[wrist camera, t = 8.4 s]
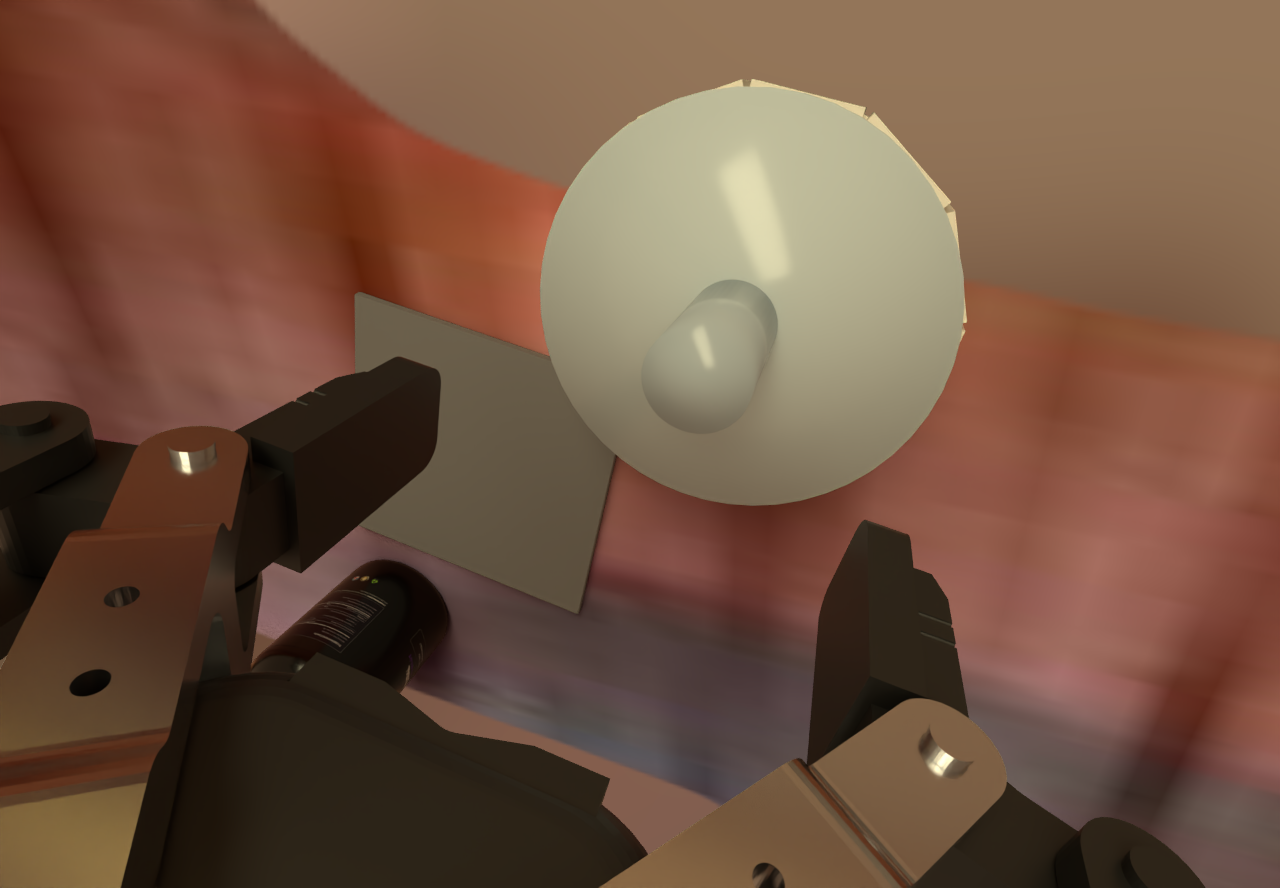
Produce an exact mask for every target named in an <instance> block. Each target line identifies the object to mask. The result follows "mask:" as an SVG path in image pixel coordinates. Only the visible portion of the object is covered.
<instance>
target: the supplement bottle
mask: <svg viewBox="0 0 1280 888" xmlns="http://www.w3.org/2000/svg"><path fill="white" fill-rule="evenodd" d="M447 624H448V617H447V611H446V607H445V604H444V602H443V600H442V598H441V596H440V594H439V593H438V591H437V590H436V588H435V587H434V586H433V585H432V584H431V582H430V581H429V580H428V579H426V578H425V577H424V576H423V575H422V574H420V573H419V572H418V571H416V570H414V569H413V568H411V567H409V566H407V565H405V564H402V563H399V562H396V561H391V560H375V561H370V562H368V563H365V564H363V565H361V566H360V567H359V568H357V569H356V570H355V571H354V572H352V573H351V574H350V575H349V576H348V577H346V578H345V579H344V580H343V581H342V582H341V583H340V584H338V585H337V586H336V587H335V588H334V589H333V590H332V591H331V592H329V593H328V594H327V595H326V596H325V597H324V598H323V599H321V600H320V601H319V602H318V603H317V604H316V605H315V606H314V607H312V608H311V609H310V610H309V611H308V612H307V613H306V614H305V615H303V616H302V617H301V618H300V619H299V620H298V621H297V622H295V623H294V624H293V625H292V626H291V627H290V628H289V629H288V630H286V631H285V632H284V633H283V634H282V635H281V636H280V637H279V638H277V639H276V640H275V641H274V642H273V643H272V644H271V645H270V646H268V647H267V648H266V649H265V650H264V651H263V652H262V653H261V654H260V655H259V656H258V657H257V658H256V659H255V660H254V661H253V663H252V664H251V671H250V673H254V672H286V673H297V672H298V671H299V670H300V669H301V668H302V667H303V666H304V665H305V664H306V663H307V662H308V661H309V660H310V659H311V658H312V657H313V656H314V655H315V654H316V653H317V652H318V653H320V654H322V655H325V656H327V657H329V658H331V659H334V660H336V661H338V662H341V663H343V664H345V665H348V666H350V667H352V668H355V669H357V670H359V671H362V672H364V673H366V674H369V675H371V676H373V677H375V678H378V679H380V680H382V681H385V682H386V683H387V684H389V685H390V686H391V687H392V688H394V689H395V690H396V691H397V692H399V693H400V692H401V691H402V690H403V689H404V688H405V686H406V685H407V684H408V683H409V681H410V680H411V679H412V678H413V676H414V675H415V674H416V673H417V671H418V670H419V669H420V668H421V666H422V665H423V664H424V663H425V662H426V660H427V659H428V658H429V657H430V655H431V654H432V653H433V651H434V650H435V649H436V648H437V646H438V645H439V644H440V642H441V641H442V639H443V638H444V636H445V633H446V630H447Z"/></svg>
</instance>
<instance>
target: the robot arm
mask: <svg viewBox="0 0 1280 888" xmlns="http://www.w3.org/2000/svg"><path fill="white" fill-rule="evenodd" d="M440 392H441V376H440V373H439V371H438V370H437V369H435V368H432V367H429V366H427V365H424V364H421V363H418V362H415V361H412V360H409V359H406V358H404V357H400V356H398V357H394V358H392V359H390V360H388V361H387V362H385V363H383V364H381V365H379V366H378V367H376V368H374V369H372V370H370V371H368V372H365V371H364V372H359V373H355V374H351V375H346V376H342V377H337V378H335V379H333V380H331V381H329V382H327V383H325V384H323V385H322V386H320V387H318V388H316V389H315V390H314V392H311V391H310V392H308V393H306V394H304V395H302V396H301V397H299V398H297V400H296V402H294V401H291V402H289V403H287V404H285V405H283V406H282V407H280V408H278V409H276V410H274V411H272V412H270V413H268V414H266V415H264V416H263V417H261V418H259V419H257V420H255V421H253V422H251V423H249V424H247V425H245V426H243V427H242V428H240V429H238V430H236V431H231V430H228V429H224V428H220V427H212V426H189V427H181V428H176V429H171V430H167V431H164V432H161V433H159V434H156V435H154V436H152V437H150V438H148V439H146V440H145V441H143V442H142V443H141V444H140V445H132V444H125V443H118V442H111V441H104V440H97V439H94V437H93V433H92V429H91V425H90V421H89V417H88V415H87V414H86V412H85V411H83V410H82V409H80V408H78V407H76V406H74V405H70V404H66V403H61V402H52V401H29V402H19V403H12V404H7V405H2V406H0V660H1V659H3V658H4V657H5V656H7V657H6V659H5V661H4V663H3V665H2V667H1V669H0V888H1205V886H1204V885H1203V884H1202V882H1201V881H1200V879H1199V878H1198V877H1197V876H1196V875H1195V873H1194V872H1193V871H1192V870H1191V869H1190V868H1189V866H1188V865H1187V864H1186V863H1185V862H1184V861H1183V860H1182V859H1181V858H1180V857H1179V856H1178V855H1176V854H1175V853H1174V852H1173V851H1172V850H1171V849H1169V848H1168V847H1167V846H1166V845H1165V844H1163V843H1162V842H1161V841H1159V840H1158V839H1157V838H1155V837H1154V836H1152V835H1151V834H1149V833H1147V832H1146V831H1144V830H1142V829H1140V828H1138V827H1136V826H1135V825H1133V824H1130V823H1128V822H1125V821H1122V820H1119V819H1114V818H1108V817H1100V818H1095V819H1093V820H1091V821H1089V822H1087V823H1086V824H1085V825H1084V826H1083V827H1082V828H1081V829H1080V830H1079V831H1076V830H1075V829H1073V828H1072V827H1070V826H1069V825H1067V824H1066V823H1064V822H1063V821H1061V820H1060V819H1058V818H1057V817H1055V816H1054V815H1052V814H1051V813H1049V812H1048V811H1046V810H1045V809H1043V808H1042V807H1040V806H1039V805H1038V804H1036V803H1035V802H1033V801H1032V800H1030V799H1029V798H1027V797H1026V796H1024V795H1023V794H1022V793H1020V792H1019V791H1017V790H1016V789H1015V788H1014V787H1013V786H1012V785H1010V784H1009V783H1008V782H1007V775H1006V769H1005V766H1004V763H1003V760H1002V758H1001V756H1000V754H999V752H998V750H997V749H996V747H995V746H994V744H993V743H992V741H991V740H990V739H989V738H988V736H987V735H986V734H985V733H984V732H983V731H982V730H981V729H980V728H979V727H978V726H977V725H976V724H975V723H974V722H972V721H971V720H970V719H969V716H968V711H967V705H966V699H965V694H964V688H963V682H962V676H961V671H960V665H959V659H958V654H957V648H954V647H955V644H956V642H955V636H954V631H953V628H951V625H952V619H951V614H950V608H949V602H948V599H947V597H946V596H945V594H944V592H943V591H942V589H941V588H940V586H939V585H938V583H937V582H936V580H935V579H934V577H933V576H932V574H929V573H927V572H924V571H921V570H918V569H915V568H913V559H912V550H911V541H910V537H909V535H908V534H905V533H902V532H899V531H896V530H893V529H890V528H888V527H885V526H882V525H879V524H876V523H873V522H870V521H867V520H864V521H862V522H861V524H860V525H859V527H858V528H857V530H856V532H855V534H854V536H853V538H852V540H851V542H850V544H849V546H848V548H847V550H846V552H845V554H844V556H843V558H842V560H841V562H840V564H839V566H838V568H837V570H836V573H835V575H834V577H833V579H832V581H831V583H830V585H829V587H828V589H827V592H826V594H825V597H824V600H823V603H822V607H821V611H820V615H819V622H818V634H817V646H816V659H815V671H814V683H813V696H812V708H811V720H810V732H809V745H808V757H807V765H806V763H805V762H804V761H803V760H802V759H800V758H798V759H794V760H791V761H789V762H787V763H785V764H784V765H782V766H781V767H779V768H778V769H776V770H775V771H773V772H772V773H770V774H769V775H767V776H766V777H764V778H763V779H761V780H760V781H758V782H757V783H755V784H754V785H752V786H751V787H749V788H748V789H746V790H745V791H743V792H742V793H740V794H739V795H737V796H736V797H734V798H733V799H731V800H730V801H728V802H727V803H725V804H724V805H722V806H721V807H719V808H718V809H716V810H715V811H713V812H712V813H710V814H709V815H707V816H706V817H704V818H703V819H701V820H700V821H698V822H697V823H695V824H694V825H692V826H691V827H689V828H688V829H686V830H685V831H683V832H682V833H680V834H679V835H677V836H676V837H674V838H673V839H671V840H670V841H668V842H667V843H665V844H664V845H662V846H661V847H659V848H658V849H656V850H655V851H653V852H652V853H650V854H649V855H648V854H647V852H646V850H645V849H644V847H643V846H642V845H641V844H640V842H639V841H638V840H637V839H636V837H635V836H634V835H633V833H632V832H631V831H630V830H629V829H628V828H627V827H626V826H625V825H624V824H623V823H622V822H621V821H620V820H619V819H618V818H617V817H616V816H615V815H614V814H613V813H611V812H610V811H609V810H608V809H606V808H605V807H604V806H603V805H602V802H603V799H604V796H605V792H606V790H607V787H608V784H609V780H610V779H609V778H607V777H605V776H603V775H600V774H598V773H595V772H593V771H590V770H588V769H586V768H584V767H582V766H579V765H577V764H575V763H572V762H570V761H568V760H565V759H563V758H561V757H558V756H556V755H554V754H551V753H549V752H547V751H545V750H542V749H540V748H538V747H535V746H531V745H525V744H519V743H513V742H507V741H500V740H495V739H489V738H483V737H477V736H471V735H465V734H458V733H453V732H450V731H447V730H445V729H443V728H442V727H440V726H439V725H438V724H437V723H435V722H434V721H433V720H432V719H430V718H429V717H428V716H427V715H425V714H424V713H423V712H422V711H421V710H419V709H418V708H417V707H415V706H414V705H413V704H412V703H411V702H409V701H408V700H407V699H406V698H405V697H403V696H402V695H401V694H400V693H399V692H397V691H396V690H395V689H394V688H392V687H391V686H390V685H389V684H387V683H386V682H385V681H382V680H380V679H378V678H375V677H373V676H371V675H369V674H366V673H364V672H362V671H359V670H357V669H355V668H352V667H350V666H348V665H345V664H343V663H341V662H338V661H336V660H334V659H331V658H329V657H327V656H325V655H322V654H320V653H318V652H317V653H316V654H315V655H314V656H313V657H312V658H311V659H310V660H309V661H308V662H307V663H306V664H305V665H304V666H303V667H302V668H301V669H300V670H299V671H298V672H297V673H286V672H254V673H250V671H251V663H252V656H253V649H254V642H255V635H256V628H257V621H258V614H259V607H260V600H261V593H262V586H263V579H262V570H263V569H265V568H266V567H267V566H269V565H270V564H271V563H272V562H274V563H277V564H279V565H282V566H284V567H287V568H289V569H291V570H294V571H296V572H299V573H302V572H303V571H304V570H306V569H307V568H308V567H309V566H310V565H312V564H313V563H314V562H315V561H316V560H318V559H319V558H320V557H321V556H322V555H323V554H325V553H326V552H327V551H328V550H329V549H331V548H332V547H333V546H334V545H335V544H337V543H338V542H339V541H340V540H341V539H342V538H344V537H345V536H346V535H347V534H348V533H350V532H351V531H352V530H353V529H354V528H356V527H357V526H358V525H359V524H360V523H361V522H363V521H364V520H365V519H366V518H367V517H369V516H370V515H371V514H372V513H373V512H375V511H376V510H377V509H378V508H379V507H380V506H382V505H383V504H384V503H385V502H386V501H388V500H389V499H390V498H391V497H392V496H394V495H395V494H396V493H397V492H398V491H399V490H401V489H402V488H403V487H404V486H405V485H407V484H408V483H409V482H410V481H411V480H413V479H414V478H415V477H416V476H417V475H418V474H420V473H421V472H422V471H423V470H424V469H425V468H426V467H427V465H428V464H429V462H430V460H431V459H432V456H433V454H434V452H435V448H436V444H437V436H438V421H439V407H440Z"/></svg>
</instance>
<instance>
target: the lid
mask: <svg viewBox="0 0 1280 888" xmlns="http://www.w3.org/2000/svg"><path fill="white" fill-rule="evenodd" d="M540 300H541V317H542V323H543V329H544V335H545V341H546V344H547V347H548V351H549V354H550V358H551V361H552V364H553V367H554V369H555V371H556V374H557V376H558V378H559V381H560V383H561V385H562V387H563V389H564V391H565V393H566V394H567V396H568V398H569V400H570V402H571V403H572V405H573V407H574V408H575V409H576V411H577V412H578V414H579V415H580V416H581V418H582V419H583V421H584V422H585V423H586V425H587V426H588V427H589V428H590V429H591V430H592V432H593V433H594V434H595V435H596V436H597V437H598V438H599V439H600V440H601V442H602V443H603V444H605V445H606V446H607V447H608V448H609V449H610V450H611V451H612V452H614V453H615V454H616V455H617V456H618V457H619V458H620V459H622V460H623V461H624V462H626V463H627V464H629V465H630V466H631V467H633V468H634V469H636V470H637V471H639V472H640V473H642V474H644V475H645V476H647V477H649V478H651V479H653V480H654V481H656V482H658V483H660V484H662V485H664V486H667V487H669V488H671V489H674V490H676V491H679V492H681V493H684V494H687V495H691V496H694V497H697V498H701V499H704V500H709V501H715V502H720V503H725V504H736V505H750V506H755V505H777V504H783V503H789V502H796V501H801V500H805V499H809V498H812V497H816V496H819V495H823V494H826V493H828V492H831V491H833V490H835V489H838V488H840V487H843V486H845V485H847V484H849V483H851V482H853V481H855V480H857V479H858V478H860V477H862V476H864V475H865V474H867V473H869V472H871V471H872V470H873V469H875V468H876V467H877V466H879V465H880V464H881V463H883V462H884V461H885V460H887V459H888V458H889V457H891V456H892V455H893V454H894V453H895V452H896V451H897V450H898V449H899V448H900V447H901V446H902V445H903V444H904V443H906V442H907V441H908V440H909V439H910V438H911V437H912V435H913V434H914V433H915V432H916V430H917V429H918V428H919V427H920V425H921V424H922V423H923V422H924V420H925V419H926V418H927V416H928V415H929V413H930V412H931V410H932V408H933V407H934V405H935V403H936V402H937V400H938V398H939V397H940V395H941V393H942V392H943V389H944V387H945V385H946V382H947V380H948V377H949V375H950V373H951V370H952V368H953V365H954V362H955V358H956V354H957V351H958V347H959V343H960V339H961V334H962V325H963V316H964V307H965V304H964V276H963V270H962V265H961V260H960V254H959V249H958V244H957V241H956V239H955V236H954V233H953V230H952V227H951V224H950V221H949V218H948V216H947V213H946V212H945V210H944V208H943V206H942V204H941V202H940V200H939V198H938V196H937V195H936V193H935V191H934V189H933V187H932V186H931V184H930V183H929V182H928V180H927V179H926V177H925V176H924V175H923V173H922V172H921V171H920V169H919V168H918V167H917V165H916V164H915V163H914V161H913V160H912V159H911V158H910V157H909V156H908V155H907V154H906V153H905V152H904V151H903V150H902V149H901V148H900V147H899V146H898V145H897V144H896V143H895V142H894V141H893V140H892V139H891V138H890V137H889V136H888V135H887V134H885V133H884V132H882V131H881V130H880V129H878V128H877V127H876V126H874V125H873V124H871V123H870V122H869V121H867V120H866V119H864V118H863V117H861V116H859V115H857V114H855V113H853V112H851V111H849V110H847V109H846V108H844V107H842V106H840V105H838V104H836V103H833V102H830V101H827V100H824V99H821V98H818V97H815V96H812V95H809V94H806V93H802V92H796V91H790V90H784V89H778V88H773V87H740V86H738V87H730V88H722V89H715V90H707V91H703V92H700V93H696V94H693V95H689V96H686V97H682V98H678V99H676V100H673V101H671V102H669V103H667V104H664V105H662V106H660V107H658V108H656V109H653V110H651V111H649V112H647V113H646V114H644V115H643V116H641V117H639V118H638V119H636V120H635V121H633V122H632V123H630V124H628V125H627V126H625V127H624V128H623V129H621V130H620V131H619V132H618V133H617V134H616V135H614V136H613V137H612V138H611V139H610V140H608V141H607V142H606V143H605V144H604V145H603V146H602V147H601V148H600V149H599V150H598V151H597V152H596V153H595V154H594V156H593V157H592V158H591V159H590V160H589V161H588V162H587V164H586V165H585V166H584V167H583V168H582V170H581V171H580V173H579V174H578V176H577V177H576V179H575V180H574V182H573V183H572V185H571V186H570V187H569V189H568V191H567V193H566V195H565V197H564V199H563V201H562V203H561V205H560V207H559V209H558V211H557V213H556V215H555V218H554V221H553V224H552V227H551V230H550V233H549V236H548V239H547V243H546V248H545V253H544V258H543V262H542V271H541V284H540Z"/></svg>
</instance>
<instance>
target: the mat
mask: <svg viewBox="0 0 1280 888" xmlns="http://www.w3.org/2000/svg"><path fill="white" fill-rule="evenodd" d="M398 356H400V357H404V358H406V359H409V360H412V361H415V362H418V363H421V364H424V365H427V366H429V367H432V368H435V369H437V370H438V371H439V373H440V376H441V392H440V407H439V421H438V436H437V444H436V448H435V452H434V454H433V456H432V459H431V460H430V462H429V464H428V465H427V467H426V468H425V469H424V470H423V471H422V472H421V473H420V474H418V475H417V476H416V477H415V478H414V479H413V480H411V481H410V482H409V483H408V484H407V485H405V486H404V487H403V488H402V489H401V490H399V491H398V492H397V493H396V494H395V495H394V496H392V497H391V498H390V499H389V500H388V501H386V502H385V503H384V504H383V505H382V506H380V507H379V508H378V509H377V510H376V511H375V512H373V513H372V514H371V515H370V516H369V517H367V518H366V519H365V520H364V521H363V522H361V523H360V524H359V526H362V527H364V528H367V529H369V530H371V531H374V532H376V533H379V534H381V535H384V536H386V537H389V538H391V539H394V540H396V541H399V542H401V543H403V544H406V545H408V546H411V547H413V548H416V549H418V550H421V551H423V552H426V553H428V554H431V555H433V556H436V557H438V558H440V559H443V560H445V561H448V562H450V563H453V564H455V565H458V566H460V567H463V568H465V569H468V570H470V571H472V572H475V573H477V574H480V575H482V576H485V577H487V578H490V579H492V580H495V581H497V582H500V583H502V584H504V585H507V586H509V587H512V588H514V589H517V590H519V591H522V592H524V593H527V594H529V595H532V596H534V597H537V598H539V599H541V600H544V601H546V602H549V603H551V604H554V605H556V606H559V607H561V608H564V609H566V610H569V611H571V612H573V613H576V614H578V613H579V611H580V609H581V605H582V601H583V597H584V592H585V588H586V584H587V580H588V575H589V571H590V567H591V563H592V558H593V554H594V550H595V546H596V541H597V537H598V533H599V529H600V524H601V520H602V516H603V512H604V507H605V503H606V499H607V495H608V490H609V486H610V482H611V477H612V473H613V469H614V465H615V460H616V456H617V455H616V454H615V453H614V452H612V451H611V450H610V449H609V448H608V447H607V446H606V445H605V444H603V443H602V442H601V440H600V439H599V438H598V437H597V436H596V435H595V434H594V433H593V432H592V430H591V429H590V428H589V427H588V426H587V425H586V423H585V422H584V421H583V419H582V418H581V416H580V415H579V414H578V412H577V411H576V409H575V408H574V407H573V405H572V403H571V402H570V400H569V398H568V396H567V394H566V393H565V391H564V389H563V387H562V385H561V383H560V381H559V378H558V376H557V374H556V371H555V369H554V367H553V364H552V361H551V358H550V357H549V356H546V355H543V354H540V353H538V352H535V351H532V350H529V349H526V348H523V347H520V346H517V345H514V344H511V343H508V342H505V341H502V340H499V339H496V338H494V337H491V336H488V335H485V334H482V333H479V332H476V331H473V330H470V329H467V328H464V327H461V326H458V325H455V324H453V323H450V322H447V321H444V320H441V319H438V318H435V317H432V316H429V315H426V314H423V313H420V312H417V311H414V310H411V309H409V308H406V307H403V306H400V305H397V304H394V303H391V302H388V301H385V300H382V299H379V298H376V297H373V296H370V295H367V294H365V293H362V292H359V293H357V294H355V373H359V372H364V371H365V372H368V371H370V370H372V369H374V368H376V367H378V366H379V365H381V364H383V363H385V362H387V361H388V360H390V359H392V358H394V357H398Z"/></svg>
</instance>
